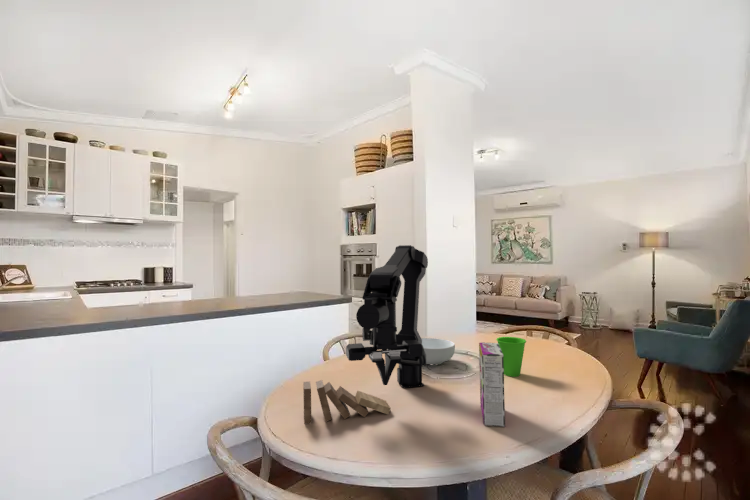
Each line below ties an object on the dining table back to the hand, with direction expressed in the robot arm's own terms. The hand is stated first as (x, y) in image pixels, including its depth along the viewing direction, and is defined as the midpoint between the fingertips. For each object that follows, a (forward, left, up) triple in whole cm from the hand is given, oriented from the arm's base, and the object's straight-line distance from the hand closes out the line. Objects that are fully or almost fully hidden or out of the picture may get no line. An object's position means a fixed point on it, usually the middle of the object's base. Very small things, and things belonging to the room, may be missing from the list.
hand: (384, 384), depth 95 cm
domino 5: (-1, 0, -6) cm, 6 cm away
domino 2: (+14, 0, -6) cm, 16 cm away
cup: (-46, -18, -7) cm, 50 cm away
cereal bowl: (-26, -37, -7) cm, 46 cm away
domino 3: (+10, 0, -6) cm, 11 cm away
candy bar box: (-24, +9, -7) cm, 26 cm away
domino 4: (+5, 0, -6) cm, 8 cm away
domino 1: (+19, 0, -7) cm, 20 cm away
